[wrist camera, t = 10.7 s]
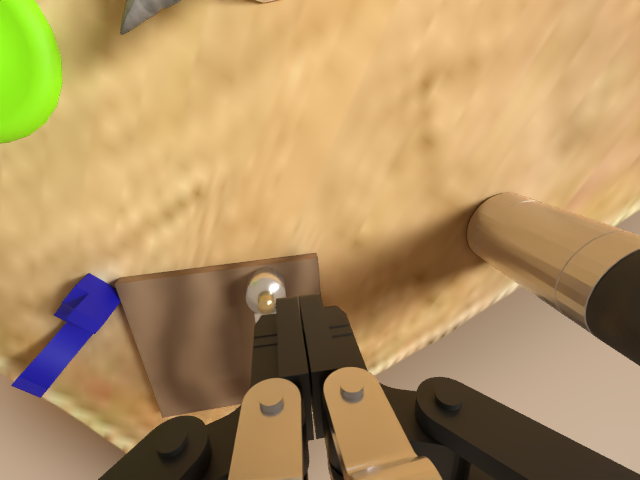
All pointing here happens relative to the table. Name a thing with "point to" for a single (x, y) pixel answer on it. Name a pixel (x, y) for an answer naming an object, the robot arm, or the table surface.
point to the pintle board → (203, 328)
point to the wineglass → (26, 69)
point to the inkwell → (145, 11)
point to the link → (264, 291)
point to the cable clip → (70, 332)
